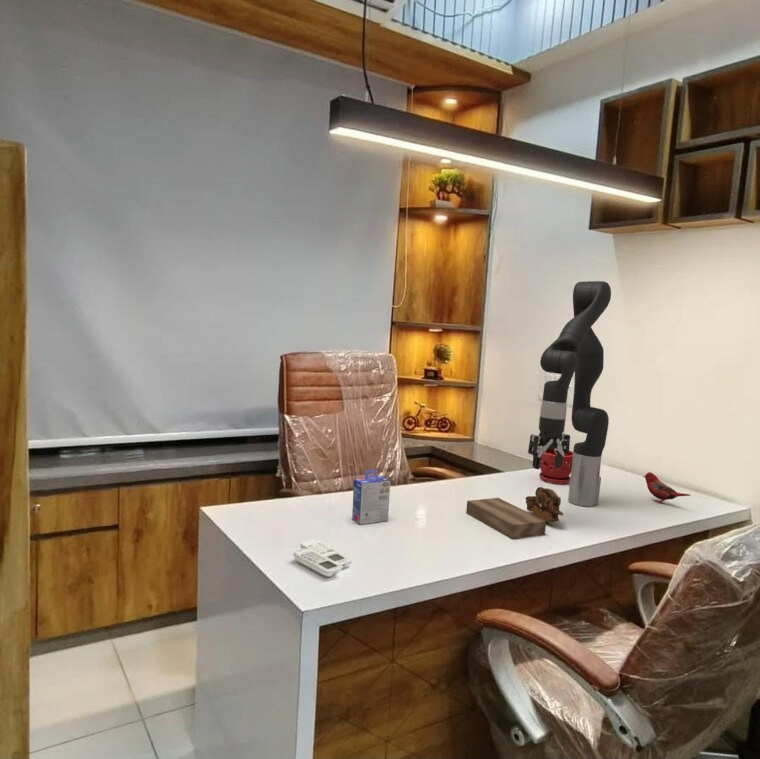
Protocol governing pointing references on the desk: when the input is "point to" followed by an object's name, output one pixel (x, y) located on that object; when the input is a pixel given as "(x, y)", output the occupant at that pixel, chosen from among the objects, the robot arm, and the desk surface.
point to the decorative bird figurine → (660, 489)
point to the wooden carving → (544, 504)
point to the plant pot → (552, 472)
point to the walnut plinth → (506, 518)
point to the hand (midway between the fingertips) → (546, 468)
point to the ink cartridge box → (371, 499)
